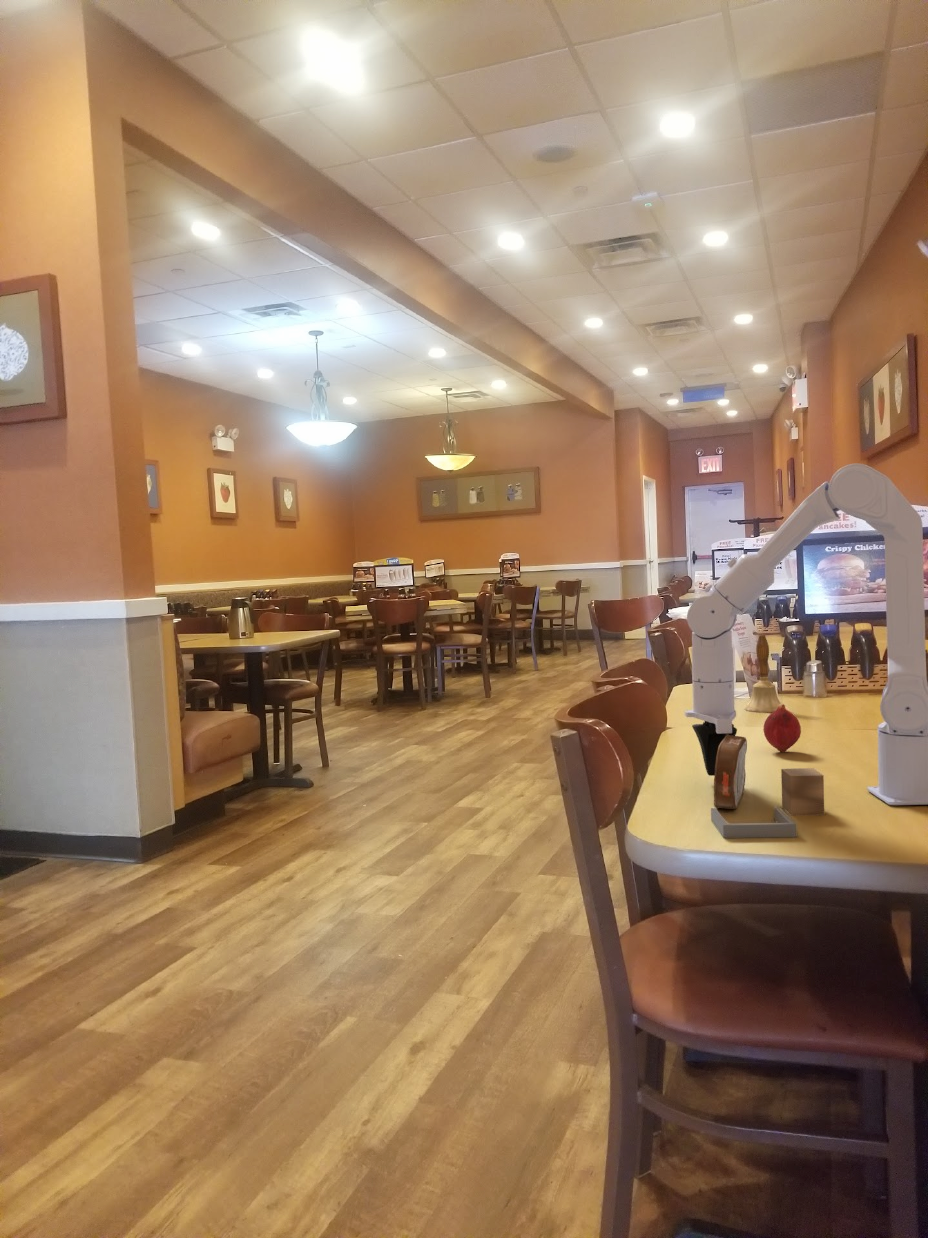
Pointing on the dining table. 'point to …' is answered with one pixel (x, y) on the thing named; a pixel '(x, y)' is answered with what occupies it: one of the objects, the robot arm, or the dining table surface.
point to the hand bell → (763, 683)
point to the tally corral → (755, 826)
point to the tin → (730, 772)
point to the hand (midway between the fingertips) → (715, 774)
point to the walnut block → (802, 791)
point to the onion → (782, 729)
